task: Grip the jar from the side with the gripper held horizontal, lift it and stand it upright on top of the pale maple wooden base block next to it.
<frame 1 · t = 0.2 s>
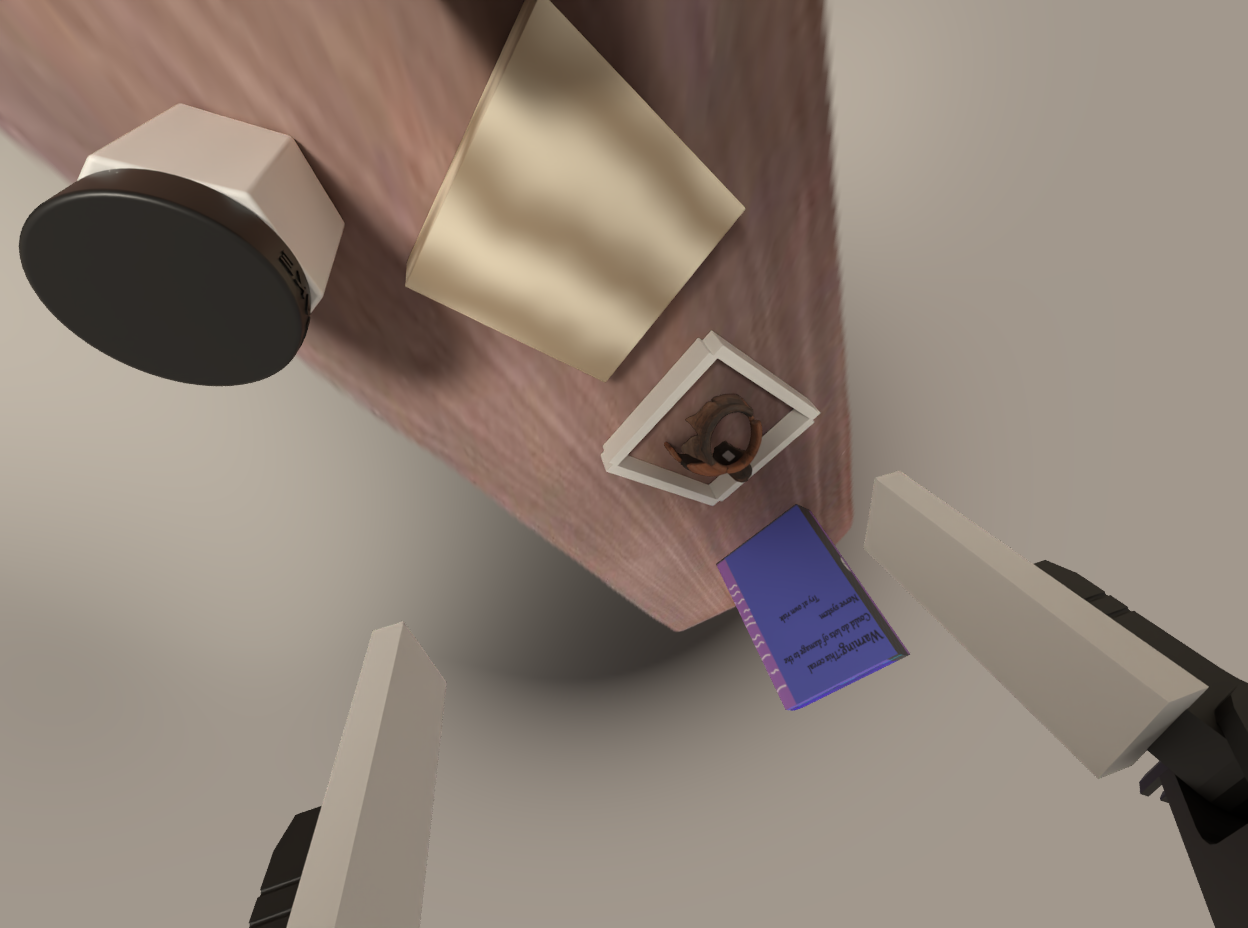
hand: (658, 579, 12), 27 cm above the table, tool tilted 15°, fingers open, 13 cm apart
cereal box: (761, 537, 76), on the table
grey tray rim: (707, 426, 51), on the table
jar: (253, 199, 25), on the table
pottery mug: (705, 424, 51), on the table
maple base: (571, 225, 31), on the table
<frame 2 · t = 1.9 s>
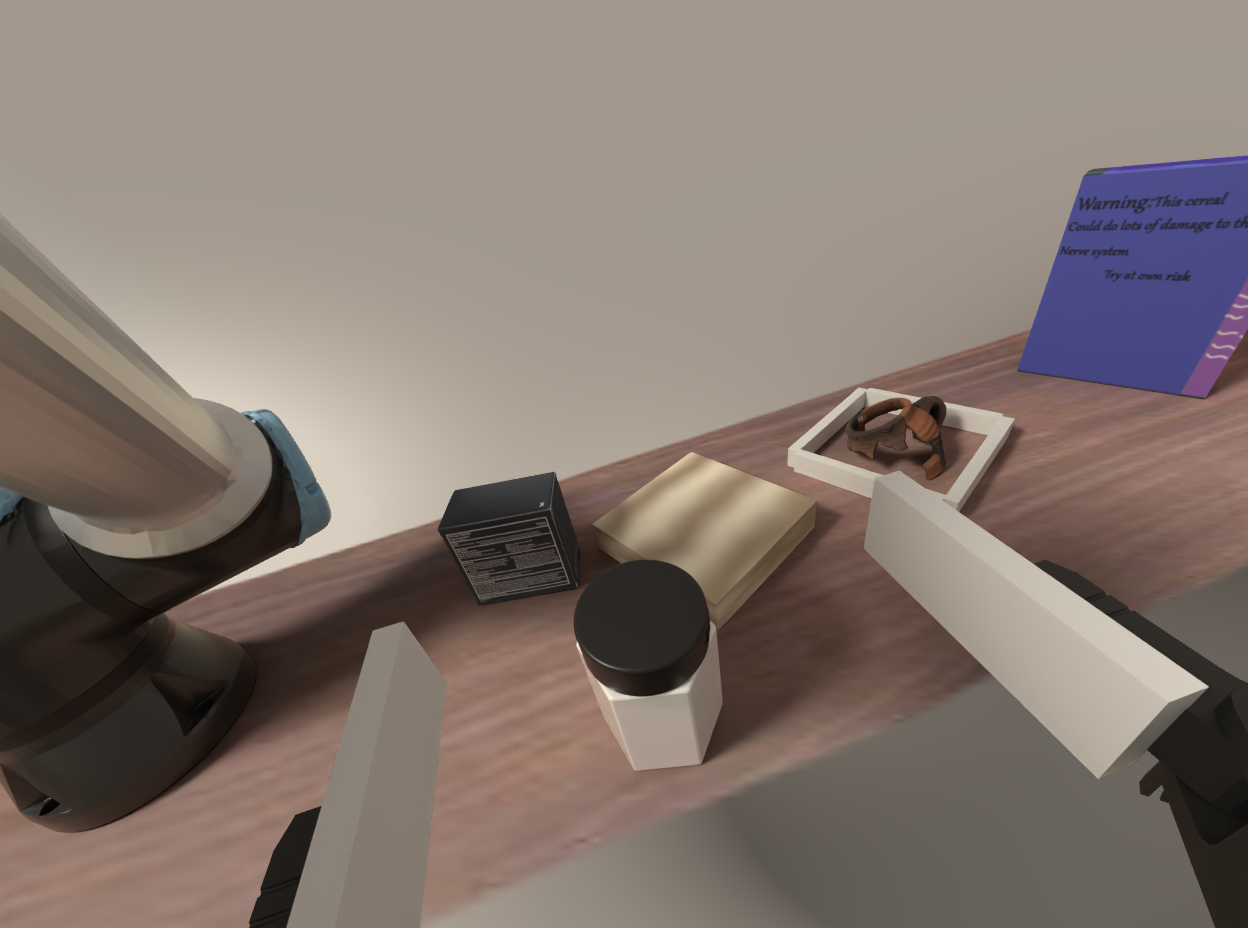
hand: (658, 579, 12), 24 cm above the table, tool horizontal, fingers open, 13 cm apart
cereal box: (1104, 378, 59), on the table
grey tray rim: (895, 451, 54), on the table
jar: (663, 711, 34), on the table
pottery mug: (898, 457, 53), on the table
maple base: (703, 537, 47), on the table
small box: (532, 575, 48), on the table
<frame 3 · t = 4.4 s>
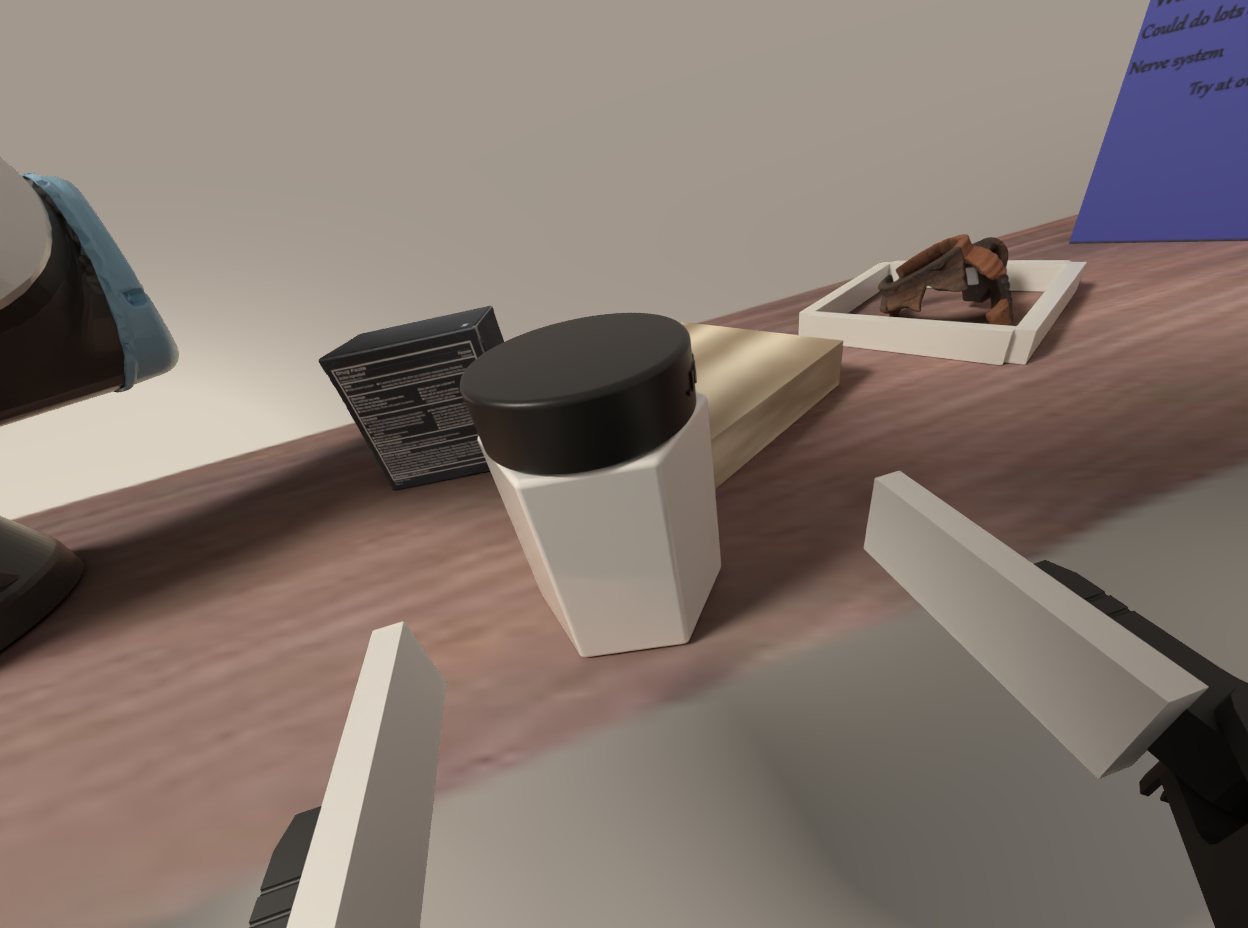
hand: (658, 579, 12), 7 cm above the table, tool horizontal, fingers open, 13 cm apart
cereal box: (1181, 238, 49), on the table
grey tray rim: (933, 315, 43), on the table
jar: (631, 584, 22), on the table
pottery mug: (946, 323, 42), on the table
maple base: (693, 405, 36), on the table
small box: (469, 458, 36), on the table
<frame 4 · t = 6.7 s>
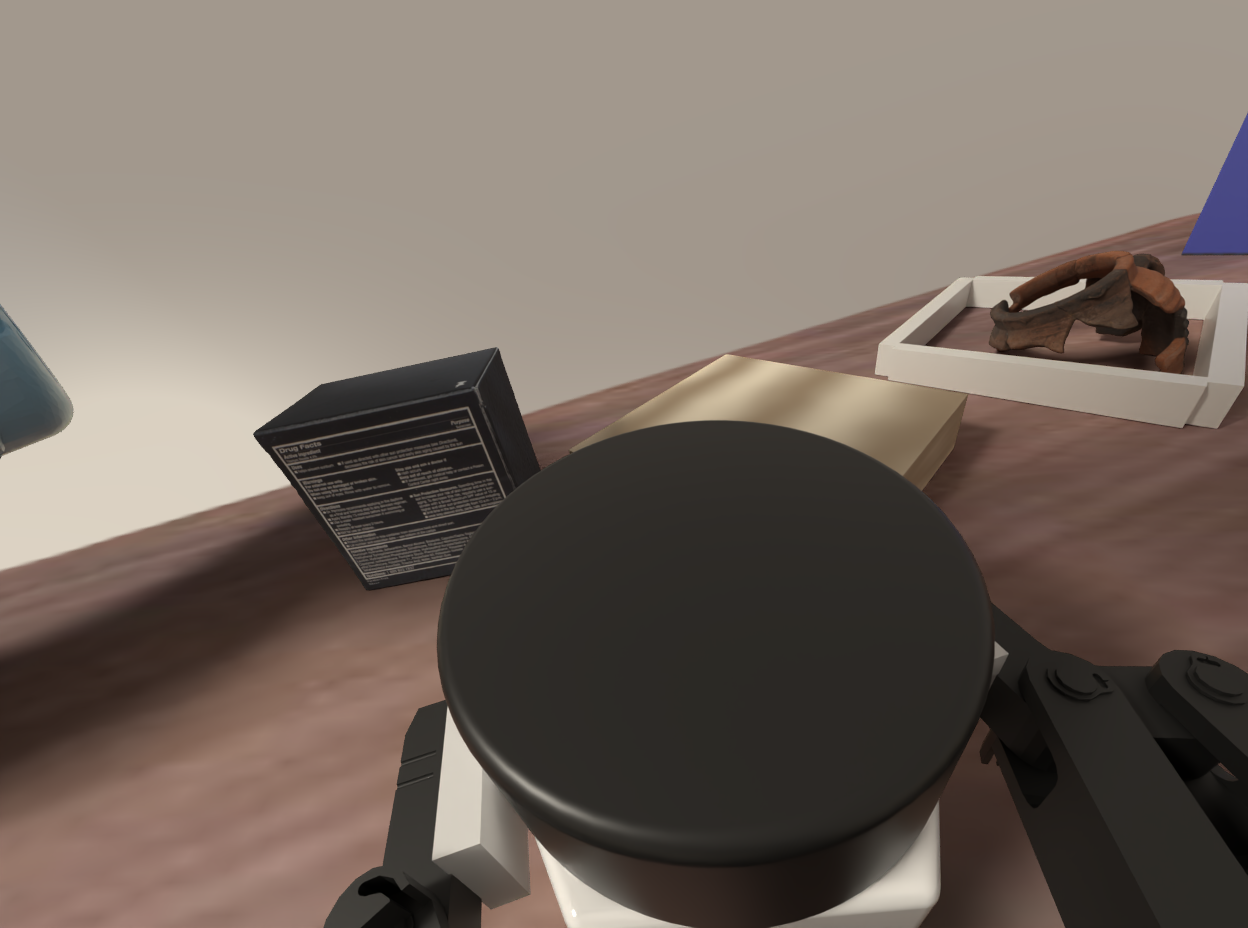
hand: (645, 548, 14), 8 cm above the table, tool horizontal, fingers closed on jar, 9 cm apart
grey tray rim: (1045, 347, 34), on the table
jar: (723, 825, 14), on the table, touching gripper
pottery mug: (1078, 362, 32), on the table
maple base: (758, 472, 28), on the table
small box: (467, 540, 28), on the table
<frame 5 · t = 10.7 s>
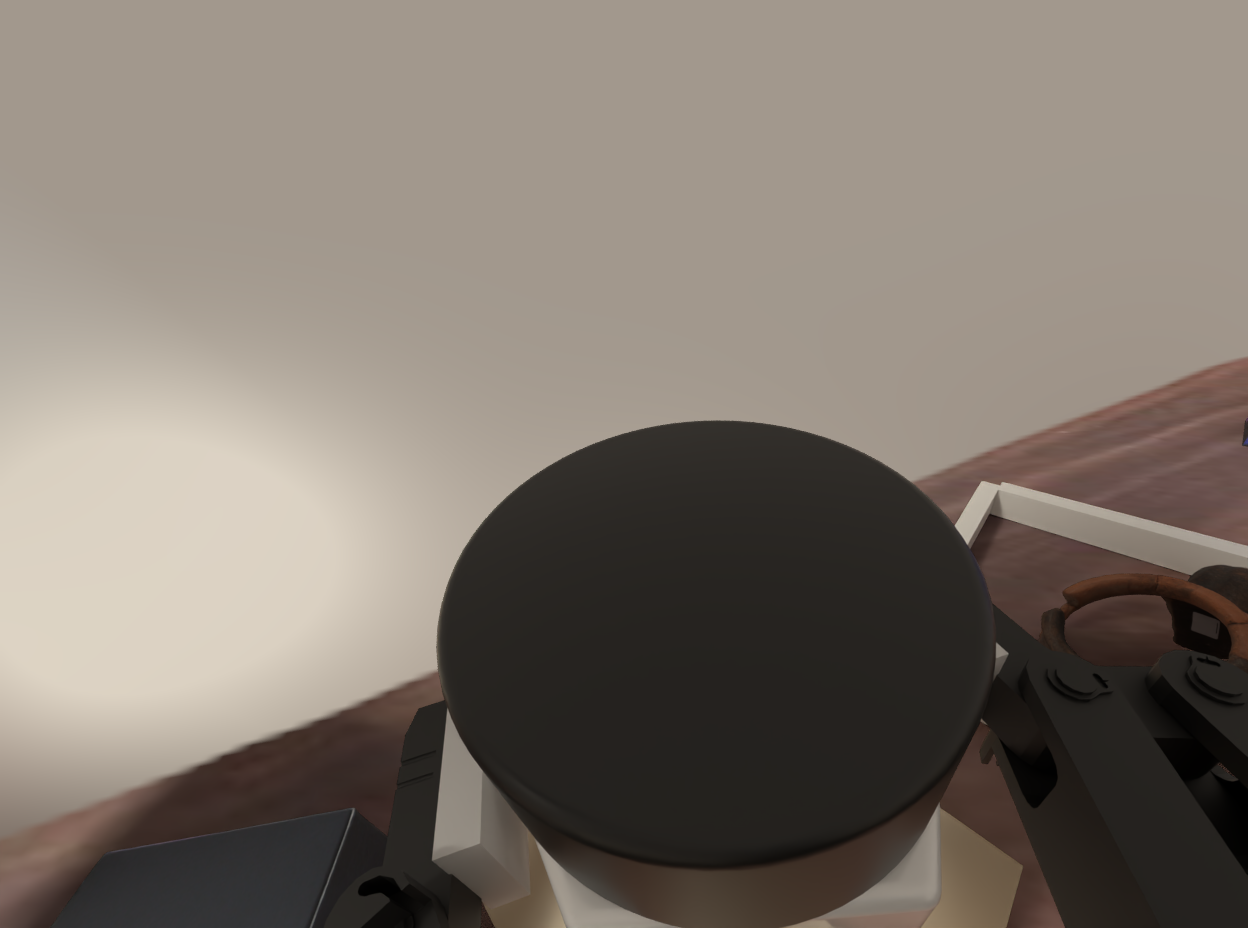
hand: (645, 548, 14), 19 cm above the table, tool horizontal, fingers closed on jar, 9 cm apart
grey tray rim: (1099, 636, 27), on the table
jar: (723, 826, 14), point 11 cm above the table, touching gripper
pottery mug: (1157, 693, 25), on the table
maple base: (732, 898, 21), on the table
when the fingers open (14 cm above the table, at t = 14.9 s): jar drops 3 cm, resting on maple base.
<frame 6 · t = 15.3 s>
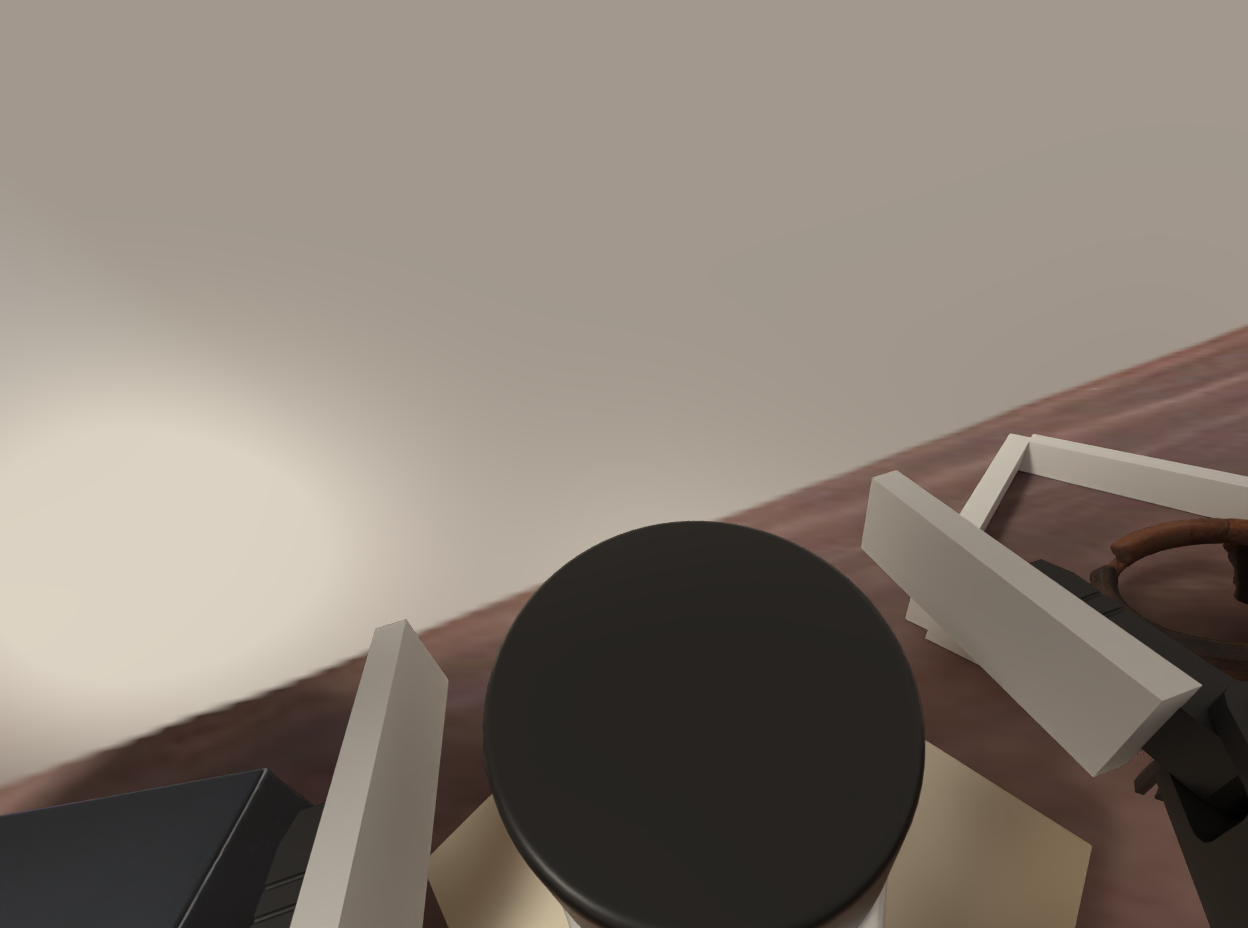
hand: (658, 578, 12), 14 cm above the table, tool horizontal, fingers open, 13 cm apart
grey tray rim: (1153, 593, 24), on the table
jar: (718, 864, 15), point 3 cm above the table, touching maple base
pottery mug: (1225, 659, 21), on the table
maple base: (732, 886, 17), on the table
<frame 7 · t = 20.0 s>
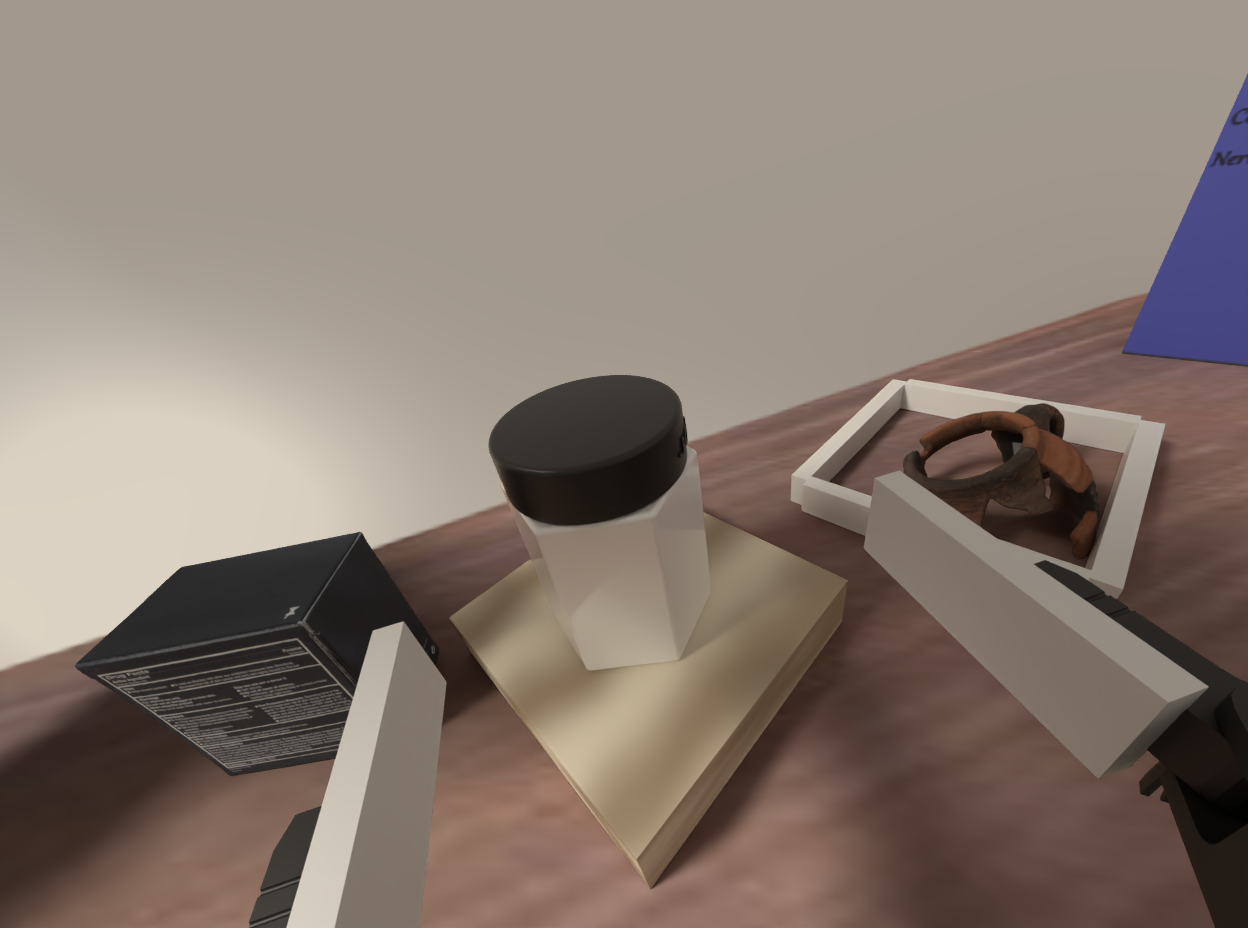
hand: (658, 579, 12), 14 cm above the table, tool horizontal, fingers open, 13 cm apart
grey tray rim: (962, 478, 34), on the table
jar: (632, 605, 25), point 3 cm above the table, touching maple base
pottery mug: (993, 512, 31), on the table
maple base: (646, 637, 27), on the table
small box: (347, 706, 27), on the table
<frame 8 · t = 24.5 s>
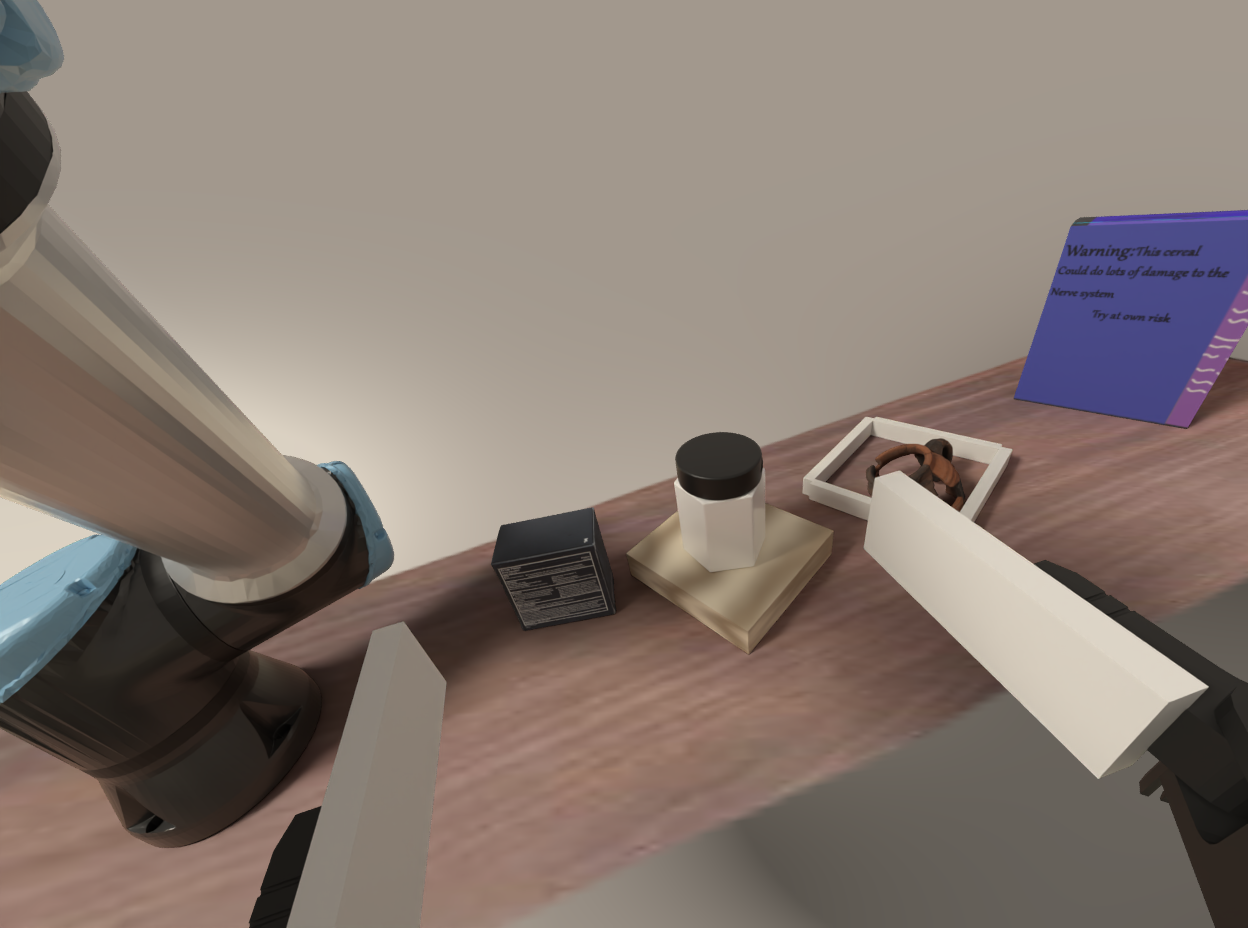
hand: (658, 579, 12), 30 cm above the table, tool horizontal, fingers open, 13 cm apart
cereal box: (1095, 406, 64), on the table
grey tray rim: (902, 479, 58), on the table
jar: (724, 545, 49), point 3 cm above the table, touching maple base
pottery mug: (916, 499, 55), on the table
maple base: (728, 564, 51), on the table
small box: (570, 601, 51), on the table
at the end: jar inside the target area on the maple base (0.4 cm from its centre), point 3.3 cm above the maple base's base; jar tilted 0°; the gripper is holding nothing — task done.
